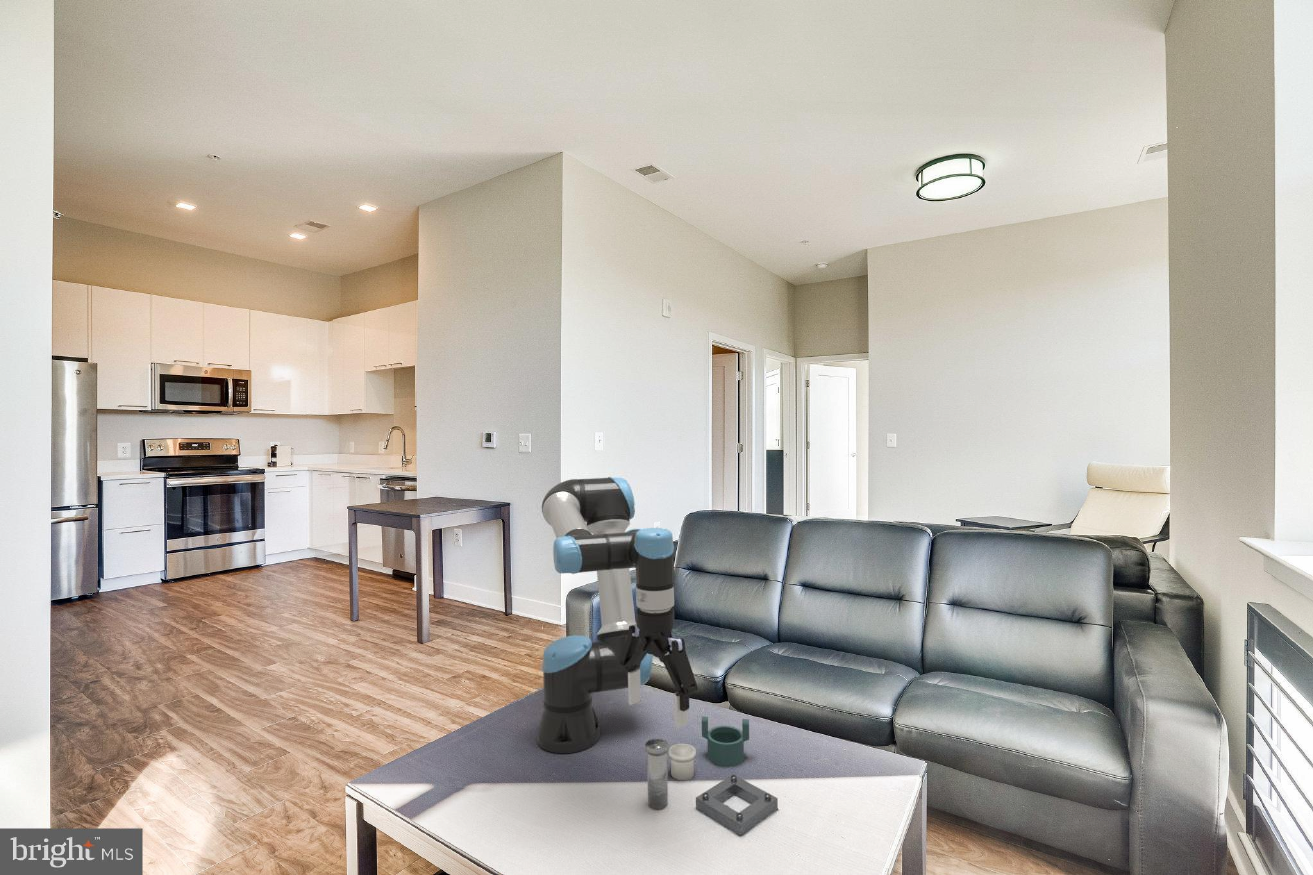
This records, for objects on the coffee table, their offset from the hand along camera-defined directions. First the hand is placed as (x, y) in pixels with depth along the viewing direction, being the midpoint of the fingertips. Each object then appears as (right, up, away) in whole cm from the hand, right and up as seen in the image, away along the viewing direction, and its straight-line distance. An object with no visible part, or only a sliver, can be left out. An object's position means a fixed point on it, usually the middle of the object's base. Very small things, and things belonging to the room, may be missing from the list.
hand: (657, 713), depth 122 cm
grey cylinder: (0, -18, +1) cm, 18 cm away
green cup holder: (+16, -18, +18) cm, 30 cm away
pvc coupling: (+6, -18, +11) cm, 22 cm away
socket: (+16, -18, -1) cm, 24 cm away
